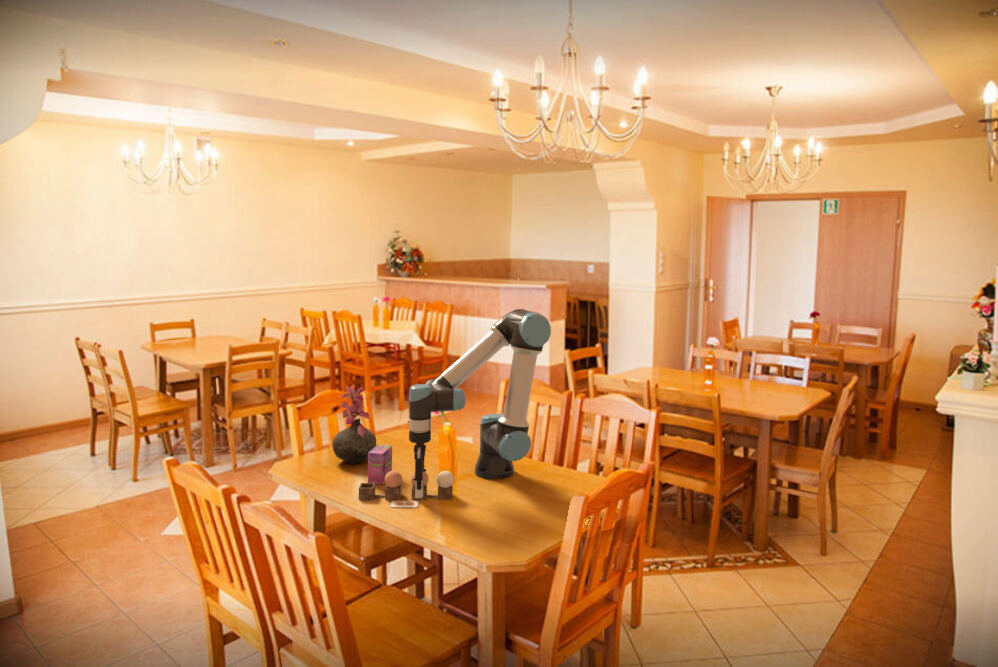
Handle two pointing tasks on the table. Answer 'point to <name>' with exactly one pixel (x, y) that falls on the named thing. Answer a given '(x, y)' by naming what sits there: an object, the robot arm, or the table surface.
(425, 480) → the terracotta ball
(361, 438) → the vase
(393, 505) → the card
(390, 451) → the box
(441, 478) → the ball cream
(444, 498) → the rack
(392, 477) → the terracotta ball
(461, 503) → the table surface
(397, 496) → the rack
